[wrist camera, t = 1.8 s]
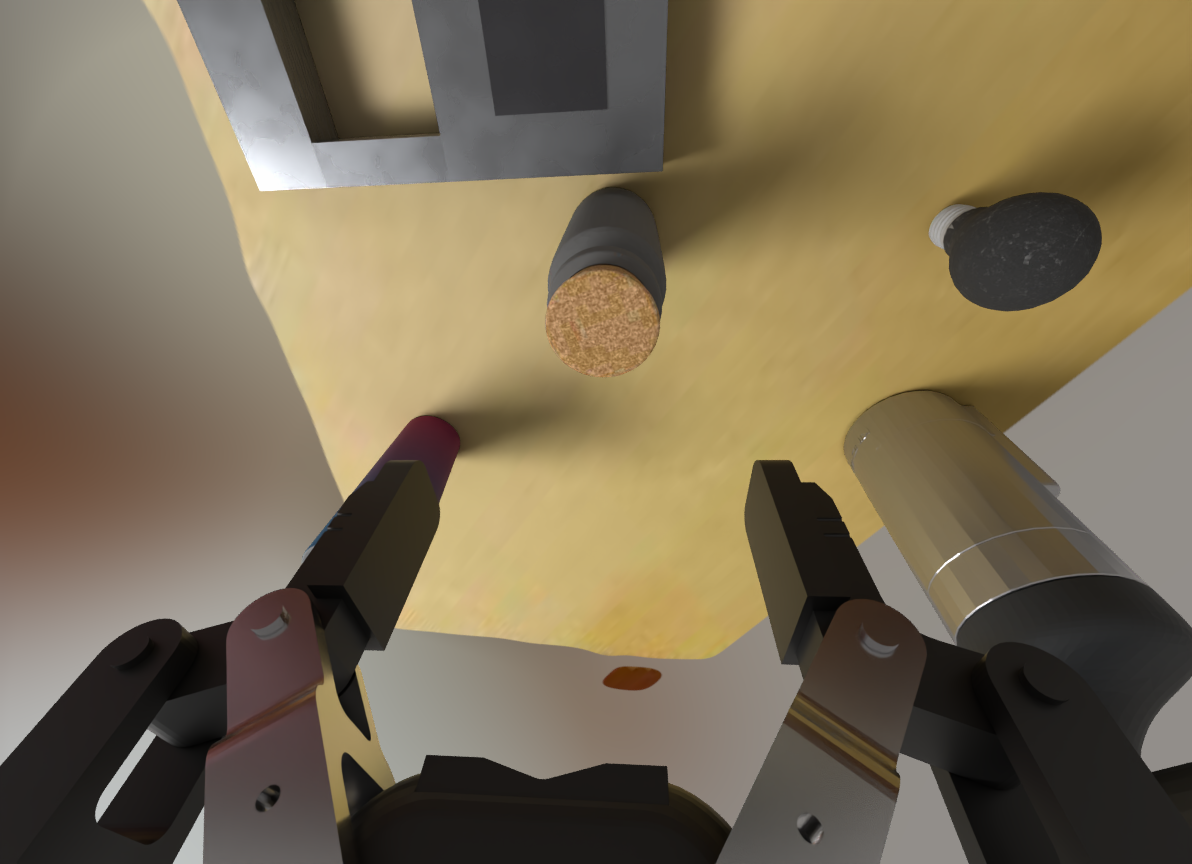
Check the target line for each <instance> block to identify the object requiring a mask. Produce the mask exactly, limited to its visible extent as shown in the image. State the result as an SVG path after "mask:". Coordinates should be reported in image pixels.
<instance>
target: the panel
mask: <svg viewBox="0 0 1192 864" xmlns="http://www.w3.org/2000/svg"><path fill="white" fill-rule="evenodd" d="M177 1H178V4H179V6H180V8H181V10H182V13H183V15H184V17H185V20H186V22H187V24H188V27H189V29H190V31H191V33H192V36H193V38H194V40H195V43H196V45H197V47H198V49H199V52H200V54H201V56H202V59H203V61H204V63H205V66H206V68H207V70H208V72H209V75H210V77H211V79H212V82H213V84H214V86H215V89H216V91H217V93H218V95H219V98H220V100H221V102H222V105H223V107H224V109H225V111H226V114H227V116H228V118H229V121H230V123H231V125H232V128H233V130H234V132H235V134H236V137H237V139H238V141H239V144H240V146H241V148H242V151H243V153H244V155H245V157H246V160H247V162H248V164H249V167H250V169H251V171H252V173H253V176H254V178H255V180H256V183H257V185H258V187H259V190H260V191H271V190H291V189H312V188H332V187H352V186H373V185H393V184H413V183H434V182H454V181H474V180H495V179H515V178H535V177H556V176H576V175H596V174H617V173H637V172H657V171H663V145H664V113H665V81H666V49H667V17H668V0H412V4H413V9H414V13H415V18H416V23H417V27H418V32H419V37H420V42H421V46H422V51H423V56H424V60H425V65H426V70H427V75H428V79H429V84H430V89H431V93H432V98H433V103H434V108H435V112H436V117H437V122H438V126H439V131H440V133H428V134H410V135H393V136H376V137H358V138H341V139H338V135H337V132H336V129H335V126H334V123H333V120H332V117H331V114H330V111H329V108H328V105H327V102H326V99H325V95H324V92H323V89H322V86H321V83H320V80H319V77H318V74H317V71H316V68H315V65H314V62H313V58H312V55H311V52H310V49H309V46H308V43H307V40H306V37H305V34H304V31H303V28H302V25H301V22H300V18H299V15H298V12H297V9H296V6H295V3H294V0H177Z"/></svg>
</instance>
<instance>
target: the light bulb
mask: <svg viewBox="0 0 1192 864" xmlns="http://www.w3.org/2000/svg"><path fill="white" fill-rule="evenodd" d="M929 237H930V239H931V241H932V242H933V243H934V244H935V245H936V246H938V247H940V248H942V249H944V250H945V252H946V253H947V254H948V255H949V256H950V257H949V270H950V275H951V278H952V280H953V282H954V285H955V287H956V288H957V289H958V290H959V292H960V293H961V294H962V295H963V296H964V297H965V298H966V299H968V300H969V301H971V302H972V303H974V304H977V305H979V306H981V307H984V308H987V309H993V310H1000V311H1019V310H1025V309H1030V308H1034V307H1037V306H1040V305H1042V304H1045V303H1048V302H1051V301H1053V300H1055V299H1057V298H1058V297H1060V296H1061V295H1063V294H1065V293H1066V292H1068V291H1069V290H1071V289H1073V288H1074V287H1075V286H1076V285H1077V284H1078V283H1079V282H1080V281H1081V280H1082V279H1083V278H1084V277H1085V276H1086V275H1087V274H1088V273H1089V271H1090V269H1091V268H1092V266H1093V264H1094V263H1095V261H1096V259H1097V257H1098V254H1099V251H1100V248H1101V244H1102V236H1101V228H1100V224H1099V221H1098V219H1097V218H1096V216H1095V214H1094V213H1093V212H1092V211H1091V210H1090V209H1089V207H1088V206H1086V205H1085V204H1083V203H1082V202H1080V201H1078V200H1077V199H1074V198H1071V197H1069V196H1066V195H1063V194H1059V193H1045V192H1038V193H1028V194H1023V195H1019V196H1014V197H1011V198H1008V199H1004V200H1002V201H1000V202H998V203H996V204H994V205H992V206H990V207H979V208H976V207H973V206H969V205H962V204H956V205H952V206H949V207H947V208H945V209H943V210H942V211H941V212H940V213H939V214H938V215H937V216H936V217H935V218H934V220H933V221H932V223H931V225H930V229H929Z"/></svg>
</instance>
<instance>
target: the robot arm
mask: <svg viewBox="0 0 1192 864" xmlns="http://www.w3.org/2000/svg"><path fill="white" fill-rule="evenodd" d="M844 454H845V457H846V459H847V461H848V463H849V465H850V467H851V468H852V470H853V472H854V473H855V475H856V477H857V479H858V480H859V482H860V484H861V485H862V487H863V489H864V491H865V493H866V494H867V496H868V498H869V499H870V501H871V503H872V504H873V506H874V508H875V510H876V511H877V513H878V515H879V516H880V518H881V520H882V521H883V523H884V525H885V526H886V528H887V530H888V532H889V533H890V535H891V537H892V538H893V540H894V542H895V543H896V545H897V547H898V549H899V550H900V552H901V554H902V555H903V557H904V559H905V560H906V562H907V563H908V566H909V567H910V569H911V571H912V572H913V574H914V576H915V577H916V579H917V581H918V583H919V584H920V586H921V588H922V589H923V591H924V593H925V594H926V596H927V598H928V599H929V601H930V602H931V604H932V606H933V608H934V609H935V611H936V613H937V614H938V616H939V618H940V620H941V621H942V623H943V625H944V626H945V628H946V630H947V631H948V633H949V635H950V637H951V638H952V640H953V642H954V643H955V645H956V646H955V645H951V644H948V643H945V642H942V641H938V640H935V639H933V638H930V637H927V636H925V635H923V634H921V633H919V631H918V630H917V628H916V627H915V626H914V625H913V624H912V623H911V621H910V620H909V619H907V618H906V617H905V616H904V615H903V614H901V613H900V612H898V611H897V610H895V609H894V608H892V607H890V606H888V605H886V604H885V603H884V601H883V599H882V597H881V596H880V594H879V591H878V589H877V587H876V585H875V583H874V582H873V580H872V577H871V575H870V573H869V572H868V570H867V567H866V565H865V563H864V562H863V559H862V557H861V555H860V553H859V551H858V549H857V547H856V545H855V543H854V541H853V539H852V538H850V536H849V534H850V533H849V531H848V529H847V527H846V525H845V523H844V522H842V517H841V515H840V513H839V511H838V509H837V507H836V505H835V503H834V501H833V499H832V498H831V497H830V496H829V495H828V494H827V493H825V492H824V491H823V490H822V489H821V488H820V487H819V486H818V485H817V484H816V483H815V482H801V481H800V479H799V477H798V475H797V472H796V470H795V468H794V466H793V464H792V462H791V461H790V460H756V461H755V463H754V465H753V469H752V474H751V479H750V484H749V489H748V494H747V499H746V504H745V528H746V533H747V537H748V540H749V544H750V548H751V552H752V555H753V559H754V563H755V567H756V570H757V574H758V578H759V582H760V585H761V589H762V593H763V597H764V600H765V604H766V608H767V612H768V615H769V619H770V623H771V627H772V630H773V634H774V638H775V641H776V645H777V649H778V653H779V657H780V660H781V664H789V665H790V664H791V665H799V667H800V670H801V673H802V677H803V683H802V684H801V687H800V689H799V691H798V693H797V695H796V697H795V699H794V701H793V703H792V705H791V707H790V709H789V711H788V713H787V715H786V717H785V719H784V721H783V723H782V725H781V728H780V730H779V732H778V734H777V736H776V738H775V740H774V742H773V744H772V746H771V749H770V751H769V753H768V755H767V757H766V759H765V761H764V763H763V766H762V768H761V769H760V772H759V774H758V776H757V778H756V780H755V782H754V784H753V786H752V788H751V790H750V793H749V795H748V797H747V799H746V801H745V803H744V805H743V807H742V809H741V812H740V814H739V816H738V818H737V820H736V822H735V824H734V826H733V828H731V827H730V826H729V824H728V823H727V822H726V821H725V820H724V819H723V818H722V817H721V816H720V815H719V814H718V813H717V812H716V811H714V809H713V808H711V807H710V806H709V805H708V804H706V803H705V802H703V801H702V800H701V799H699V798H698V797H697V796H695V795H693V794H692V793H690V792H688V791H686V790H684V789H682V788H680V787H678V786H675V785H673V784H670V783H668V773H667V766H651V765H629V764H608V763H606V764H602V765H598V766H595V767H591V768H587V769H583V770H579V771H576V772H572V773H568V774H564V775H561V776H557V777H553V778H549V779H537V778H534V777H531V776H529V775H526V774H524V773H521V772H519V771H516V770H514V769H511V768H509V767H506V766H503V765H501V764H498V763H496V762H493V761H491V760H488V759H486V758H479V757H457V756H438V755H426V758H425V761H424V764H423V768H422V771H421V773H420V774H417V775H414V776H412V777H409V778H407V779H404V780H402V781H400V782H398V783H395V780H394V777H393V775H392V772H391V769H390V767H389V765H388V763H387V761H386V759H385V757H384V755H383V752H382V750H381V747H380V744H379V740H378V736H377V733H376V729H375V725H374V721H373V717H372V713H371V709H370V705H369V701H368V697H367V693H366V689H365V685H364V681H363V677H362V673H361V670H360V667H359V666H358V662H359V660H360V658H361V656H362V654H363V652H364V650H377V651H379V650H380V651H384V650H385V648H386V645H387V643H388V641H389V639H390V636H391V634H392V632H393V629H394V627H395V625H396V623H397V620H398V618H399V616H400V613H401V611H402V609H403V607H404V604H405V602H406V600H407V597H408V595H409V593H410V590H411V588H412V586H413V583H414V581H415V579H416V577H417V574H418V572H419V570H420V567H421V565H422V563H423V560H424V558H425V556H426V554H427V551H428V549H429V547H430V544H431V542H432V540H433V537H434V535H435V533H436V531H437V528H438V525H439V519H440V507H439V503H438V500H437V497H436V495H435V492H434V489H433V486H432V483H431V481H430V478H429V475H428V472H427V470H426V467H425V465H424V463H423V462H422V461H420V460H390V461H388V462H386V463H385V465H384V466H383V468H382V469H381V471H380V472H379V474H378V475H377V477H376V478H375V480H374V481H367V482H366V483H364V484H363V485H362V486H361V487H359V488H358V489H357V490H356V491H354V492H353V493H352V494H351V495H350V496H349V497H348V498H347V499H346V501H345V502H344V504H343V505H342V507H341V508H340V510H339V511H338V513H337V517H334V518H333V520H332V521H331V523H330V524H329V526H328V527H327V531H324V533H323V534H322V536H321V537H320V539H319V540H318V542H317V543H316V545H315V546H314V547H313V549H312V550H311V552H310V553H309V555H308V556H307V558H306V559H305V561H304V562H303V564H302V565H301V566H300V568H299V569H298V571H297V572H296V574H295V575H294V577H293V578H292V580H291V581H290V582H289V584H288V585H287V587H286V588H285V589H279V590H276V591H273V592H270V593H268V594H266V595H264V596H262V597H260V598H258V599H257V600H255V601H254V602H252V603H251V604H250V605H248V606H247V607H246V608H245V609H244V610H243V611H242V612H241V613H240V614H239V615H238V616H237V617H236V619H235V620H234V621H231V622H227V623H224V624H220V625H216V626H213V627H209V628H205V629H201V630H197V631H193V632H190V633H189V632H188V631H187V630H186V629H185V628H184V627H182V626H181V625H180V624H179V623H178V622H176V621H175V620H172V619H157V620H153V621H149V622H146V623H144V624H141V625H139V626H137V627H134V628H133V629H131V630H129V631H127V632H125V633H124V634H122V635H121V636H119V637H118V638H116V639H115V640H114V641H113V642H111V643H110V644H109V645H108V646H107V647H105V648H104V649H103V650H102V651H101V652H100V653H99V655H97V657H96V658H95V659H94V660H93V661H92V662H91V663H90V664H89V666H88V667H87V668H86V669H85V670H84V671H83V672H82V674H81V675H80V676H79V677H78V678H77V679H76V680H75V682H74V683H73V684H72V685H71V686H70V687H69V688H68V690H67V691H66V692H65V693H64V694H63V695H62V696H61V697H60V699H59V700H58V701H57V702H56V703H55V704H54V705H53V707H52V708H51V709H50V710H49V711H48V712H47V713H46V715H45V716H44V717H43V718H42V719H41V720H40V721H39V722H38V724H37V725H36V726H35V727H34V728H33V730H32V731H31V732H30V733H29V734H28V735H27V736H26V737H25V738H24V740H23V741H22V742H21V743H20V744H19V745H18V746H17V748H16V749H15V750H14V751H13V752H12V753H11V754H10V755H9V757H8V758H7V759H6V760H5V761H4V762H3V764H2V765H1V766H0V864H173V862H174V860H175V858H176V856H177V854H178V852H179V851H180V849H181V847H182V845H183V843H184V842H185V840H186V838H187V836H188V834H189V832H190V831H191V829H192V827H193V825H194V823H195V821H196V819H197V818H198V816H199V814H200V812H201V810H202V808H203V807H204V846H203V847H204V849H203V864H880V860H881V857H882V853H883V849H884V846H885V842H886V838H887V835H888V831H889V827H890V823H891V820H892V816H893V813H894V809H895V805H896V802H897V797H898V793H899V788H900V775H899V774H898V773H897V772H896V765H897V760H898V756H899V753H902V754H904V755H907V756H909V757H912V758H915V759H917V760H920V761H923V762H925V763H928V764H930V766H931V769H932V771H933V774H934V776H935V779H936V781H937V784H938V786H939V789H940V791H941V794H942V797H943V799H944V802H945V804H946V806H947V809H948V812H949V814H950V817H951V819H952V822H953V824H954V827H955V830H956V832H957V835H958V837H959V840H960V842H961V845H962V847H963V850H964V852H965V855H966V858H967V860H968V863H969V864H1192V762H1191V763H1186V764H1182V765H1178V766H1174V767H1170V768H1167V769H1162V770H1159V771H1154V772H1151V771H1150V770H1149V768H1148V767H1147V766H1146V764H1145V763H1144V761H1143V760H1142V758H1141V748H1142V744H1143V741H1144V737H1145V735H1146V733H1147V730H1148V728H1149V725H1150V724H1151V722H1152V721H1153V719H1154V717H1155V716H1156V715H1157V713H1158V712H1159V711H1160V709H1161V708H1162V707H1163V706H1164V705H1165V703H1167V701H1168V700H1169V699H1170V698H1171V697H1172V696H1173V695H1174V694H1175V693H1176V692H1177V691H1178V690H1179V689H1180V688H1181V687H1182V686H1183V685H1184V684H1185V683H1186V682H1187V681H1188V680H1189V679H1190V678H1191V676H1192V628H1191V627H1190V625H1189V624H1188V623H1187V622H1186V621H1185V620H1184V619H1183V618H1182V617H1181V616H1180V615H1179V614H1178V613H1177V612H1176V611H1175V610H1174V609H1173V608H1172V607H1171V606H1170V605H1169V604H1168V603H1167V602H1166V601H1165V600H1164V599H1163V598H1162V597H1160V596H1159V595H1158V594H1157V593H1156V592H1155V591H1154V590H1153V589H1152V588H1150V587H1149V586H1148V585H1147V584H1146V583H1145V582H1144V581H1143V580H1142V579H1141V578H1140V577H1139V576H1138V575H1137V574H1136V573H1135V572H1134V571H1133V570H1132V569H1131V568H1130V567H1129V566H1128V565H1127V564H1126V563H1124V562H1123V561H1122V560H1121V559H1120V558H1119V557H1118V556H1117V555H1116V554H1115V553H1114V552H1113V551H1112V550H1111V549H1110V548H1109V547H1108V546H1107V545H1106V544H1104V543H1103V542H1102V541H1101V540H1100V539H1099V538H1098V537H1097V536H1096V535H1095V534H1094V533H1093V532H1092V531H1091V530H1089V529H1088V528H1087V527H1086V526H1085V525H1084V524H1083V523H1082V522H1081V521H1080V520H1079V519H1078V518H1077V517H1076V516H1075V515H1074V514H1073V513H1072V512H1071V511H1070V510H1069V509H1068V508H1067V507H1065V506H1064V505H1063V504H1062V503H1061V502H1060V501H1059V500H1058V499H1057V497H1058V496H1059V494H1060V487H1059V485H1058V484H1057V483H1056V482H1055V481H1054V480H1053V479H1052V478H1051V477H1050V476H1049V475H1048V474H1046V472H1044V471H1043V470H1042V469H1041V468H1040V467H1039V466H1038V465H1037V464H1036V463H1035V462H1034V461H1032V460H1031V459H1030V458H1029V457H1028V456H1027V455H1026V454H1025V453H1024V452H1023V451H1022V450H1020V449H1019V448H1018V447H1017V446H1016V445H1015V444H1014V443H1013V442H1012V441H1011V440H1010V439H1009V438H1007V437H1006V436H1005V435H1004V434H1003V433H1002V432H1001V431H1000V430H999V429H998V428H997V427H995V426H994V425H993V424H992V423H991V422H990V421H989V420H988V419H987V418H986V417H985V416H984V415H982V414H981V413H980V412H979V411H978V410H977V409H976V408H975V407H974V406H962V405H960V404H958V403H957V402H956V401H954V400H953V399H952V398H951V397H949V396H946V395H944V394H942V393H938V392H933V391H913V392H907V393H902V394H899V395H895V396H892V397H889V398H887V399H885V400H883V401H881V402H879V403H877V404H875V405H874V406H872V407H871V408H870V409H868V410H867V411H865V412H864V413H863V414H862V415H861V416H860V417H859V418H858V419H857V420H856V421H855V422H854V424H853V425H852V426H851V428H850V429H849V431H848V433H847V435H846V438H845V443H844ZM146 729H148V730H149V731H151V732H153V733H154V734H156V737H155V738H154V740H153V741H152V743H151V744H150V746H149V747H148V749H147V750H146V752H145V753H144V755H143V756H142V758H141V759H140V761H139V762H138V763H137V765H136V766H135V768H134V769H133V771H132V772H131V774H130V775H129V777H128V778H127V780H126V781H125V783H124V784H123V786H122V787H121V788H120V790H119V791H118V793H117V794H116V796H115V797H114V799H113V800H112V802H111V803H110V805H109V806H108V808H107V809H106V811H105V812H104V814H103V815H102V816H101V818H100V820H99V821H98V823H97V822H96V819H95V810H96V806H97V803H98V801H99V798H100V796H101V794H102V793H103V791H104V790H105V788H106V787H107V785H108V784H109V782H110V781H111V780H112V778H113V777H114V775H115V774H116V772H117V771H118V769H119V768H120V767H121V765H122V764H123V762H124V761H125V759H126V758H127V757H128V755H129V754H130V752H131V751H132V749H133V748H134V746H135V745H136V744H137V742H138V741H139V740H140V738H141V737H142V735H143V734H144V732H145V731H146Z"/></svg>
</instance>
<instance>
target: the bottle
mask: <svg viewBox="0 0 1192 864" xmlns="http://www.w3.org/2000/svg"><path fill="white" fill-rule="evenodd" d="M548 292H549V293H548V301H547V312H546V320H545V324H546V333H547V336H548V340H549V342H550V344H551V346H552V348H553V350H554V352H555V353H556V354H557V356H558V357H559V358H560V359H561V360H562V361H563V362H564V363H565V364H567V365H568V366H569V367H571V368H572V369H574V370H576V371H578V372H580V373H583V374H586V375H589V376H594V377H612V376H618V375H621V374H624V373H627V372H629V371H631V370H633V369H634V368H636V367H638V366H639V365H640V364H641V363H642V362H644V361H645V360H646V359H647V357H648V356H649V355H650V353H651V352H652V350H653V348H654V347H655V345H656V342H657V339H658V336H659V330H660V319H661V314H662V305H663V302H664V298H665V293H666V275H665V267H664V262H663V257H662V251H661V246H660V241H659V236H658V232H657V227H656V223H655V220H654V217H653V214H652V212H651V210H650V208H649V207H648V205H647V204H646V203H645V202H644V201H643V200H642V199H641V198H640V197H639V196H637V195H636V194H635V193H633V192H631V191H628V190H626V189H622V188H604V189H601V190H598V191H596V192H594V193H592V194H590V195H589V196H588V197H586V198H585V199H584V200H583V201H582V202H581V203H580V205H579V206H578V207H577V209H576V210H575V212H574V214H573V216H572V218H571V220H570V222H569V224H568V227H567V229H566V231H565V233H564V235H563V237H562V240H561V242H560V244H559V246H558V249H557V251H556V253H555V256H554V258H553V261H552V264H551V267H550V271H549V276H548Z"/></svg>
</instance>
